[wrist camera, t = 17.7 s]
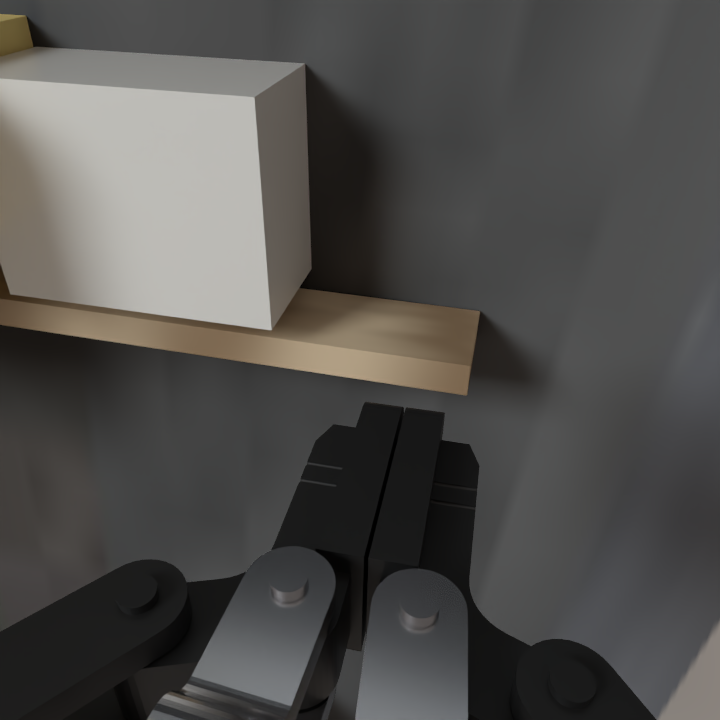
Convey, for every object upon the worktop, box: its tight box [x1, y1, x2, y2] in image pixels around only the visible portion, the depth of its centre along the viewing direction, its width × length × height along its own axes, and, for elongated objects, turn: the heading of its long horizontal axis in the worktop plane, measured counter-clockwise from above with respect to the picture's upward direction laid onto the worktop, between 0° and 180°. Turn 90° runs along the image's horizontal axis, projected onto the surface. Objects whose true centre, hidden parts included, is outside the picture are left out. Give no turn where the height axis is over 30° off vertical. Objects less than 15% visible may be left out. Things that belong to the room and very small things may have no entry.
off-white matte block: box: [0, 47, 312, 330], centre depth 19 cm, size 8×6×4 cm
